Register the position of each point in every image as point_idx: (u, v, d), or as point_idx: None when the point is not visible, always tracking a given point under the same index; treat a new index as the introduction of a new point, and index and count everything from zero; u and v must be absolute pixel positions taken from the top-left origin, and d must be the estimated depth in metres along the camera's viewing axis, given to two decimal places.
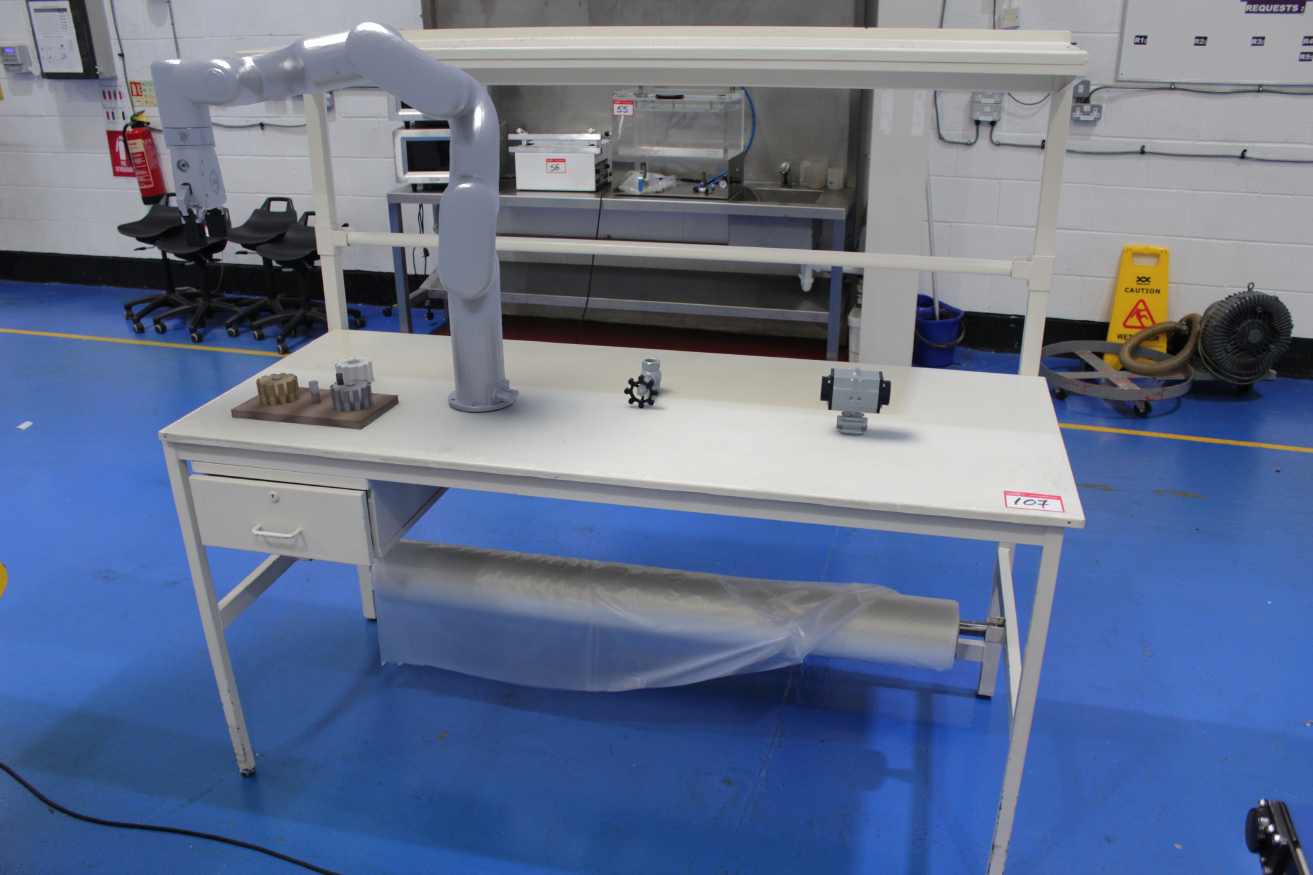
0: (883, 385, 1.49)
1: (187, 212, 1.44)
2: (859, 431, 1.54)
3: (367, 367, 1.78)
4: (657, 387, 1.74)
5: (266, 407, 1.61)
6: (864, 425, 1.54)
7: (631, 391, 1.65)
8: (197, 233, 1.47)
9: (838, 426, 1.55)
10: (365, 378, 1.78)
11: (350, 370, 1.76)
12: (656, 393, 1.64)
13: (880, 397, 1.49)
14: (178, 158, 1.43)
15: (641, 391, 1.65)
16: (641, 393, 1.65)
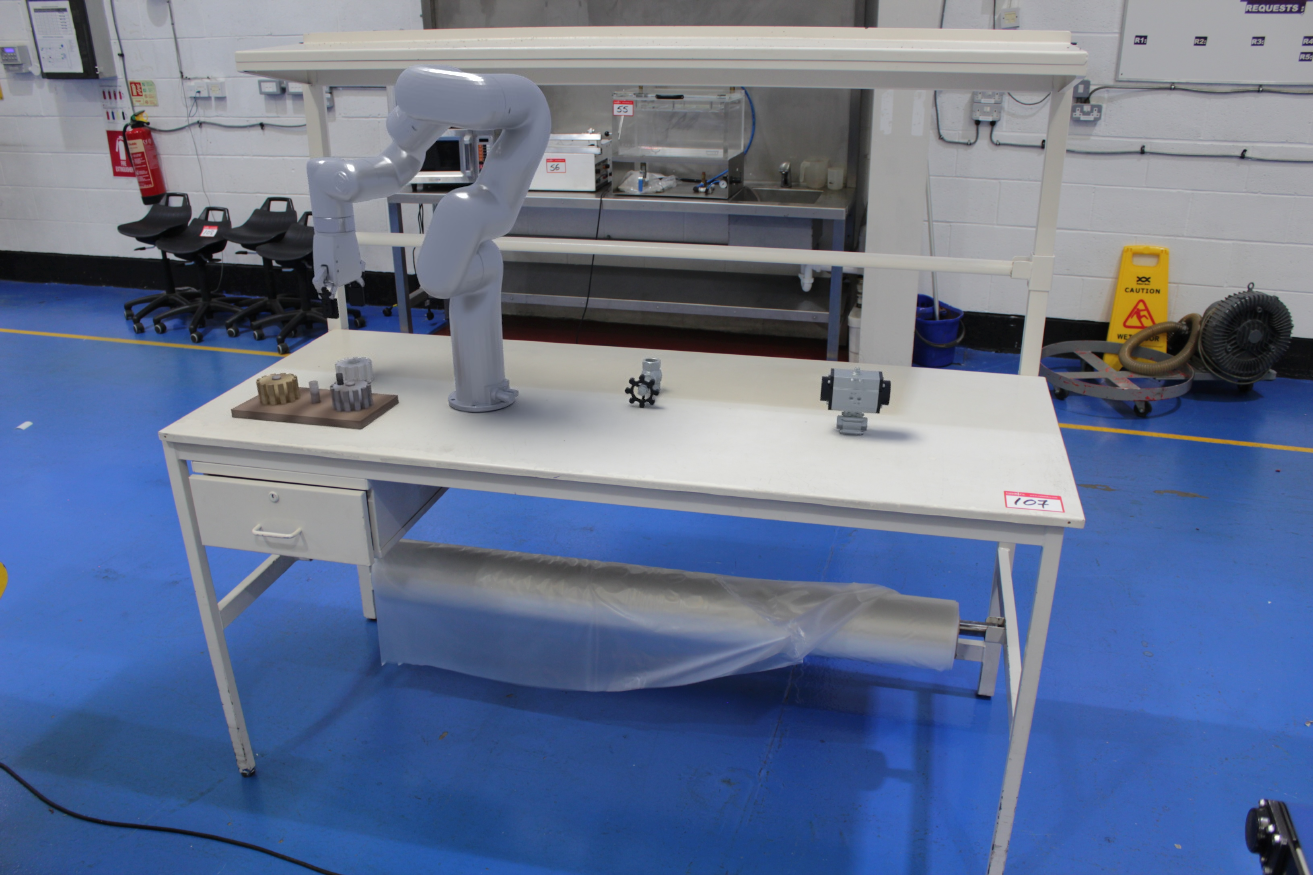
0: (883, 385, 1.49)
1: None
2: (859, 431, 1.54)
3: (367, 367, 1.78)
4: (657, 387, 1.74)
5: (266, 407, 1.61)
6: (864, 425, 1.54)
7: (632, 391, 1.66)
8: None
9: (838, 426, 1.55)
10: (365, 378, 1.78)
11: (350, 370, 1.76)
12: (657, 393, 1.65)
13: (880, 397, 1.49)
14: None
15: (642, 391, 1.65)
16: (642, 393, 1.65)
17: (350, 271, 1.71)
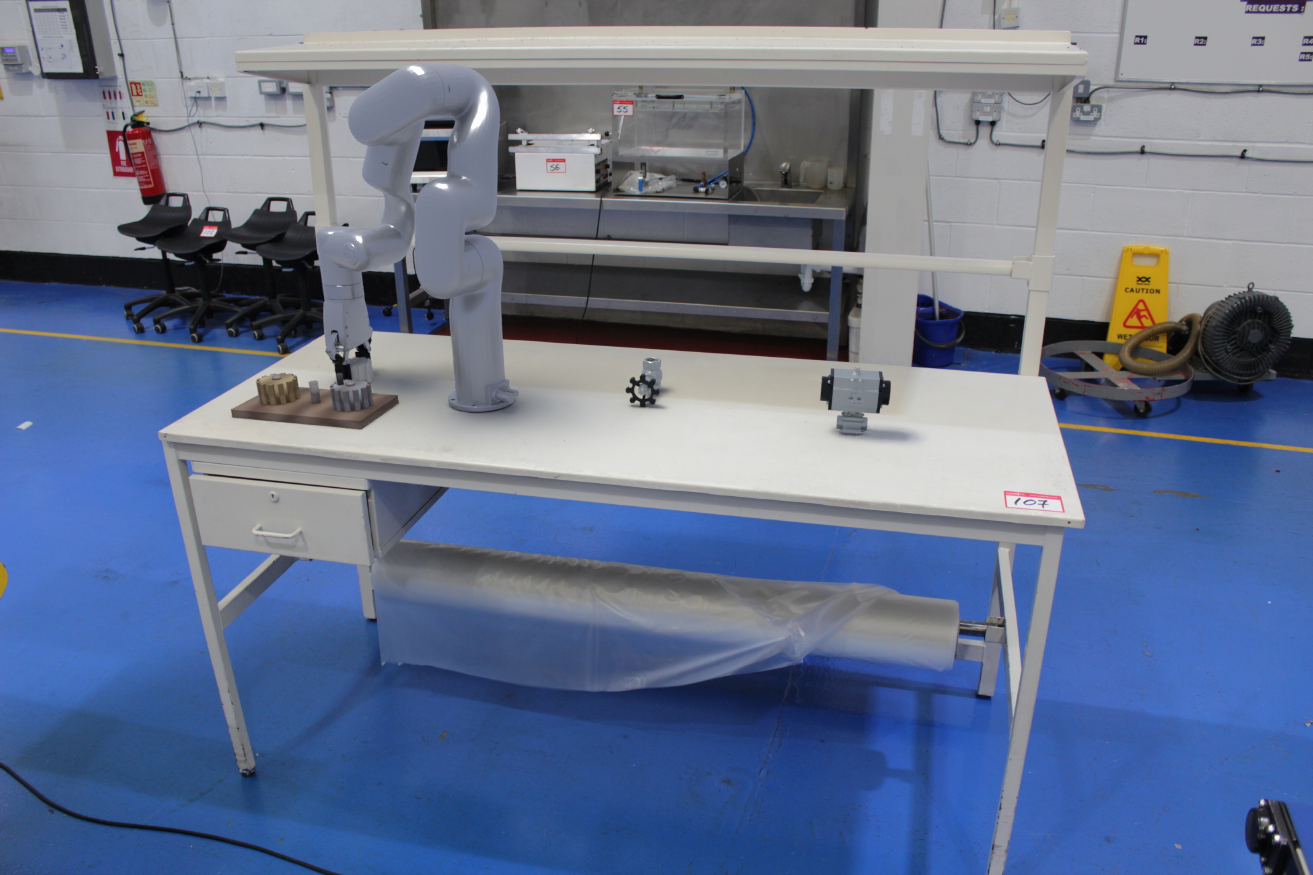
0: (883, 385, 1.49)
1: None
2: (859, 431, 1.54)
3: (367, 367, 1.78)
4: (658, 386, 1.74)
5: (266, 407, 1.61)
6: (864, 425, 1.54)
7: (632, 390, 1.66)
8: None
9: (838, 426, 1.55)
10: (365, 378, 1.78)
11: None
12: (657, 392, 1.65)
13: (880, 397, 1.49)
14: None
15: (642, 390, 1.65)
16: (642, 392, 1.66)
17: (360, 334, 1.76)
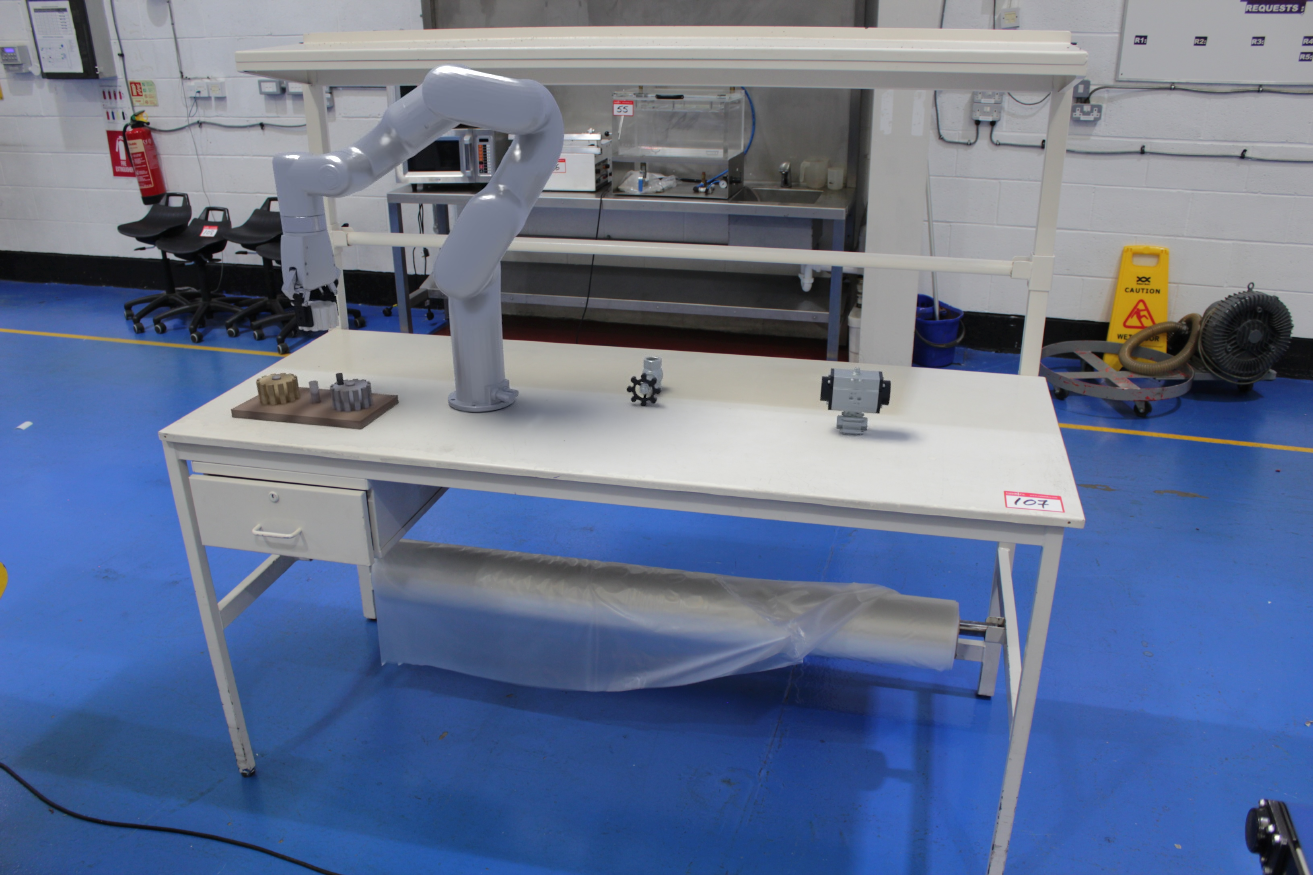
0: (883, 385, 1.49)
1: None
2: (859, 431, 1.54)
3: (330, 310, 1.61)
4: (659, 385, 1.75)
5: (266, 407, 1.61)
6: (864, 425, 1.54)
7: (634, 389, 1.66)
8: None
9: (838, 426, 1.55)
10: (328, 323, 1.62)
11: None
12: (659, 391, 1.66)
13: (880, 397, 1.49)
14: None
15: (644, 389, 1.66)
16: (644, 391, 1.66)
17: (322, 274, 1.60)
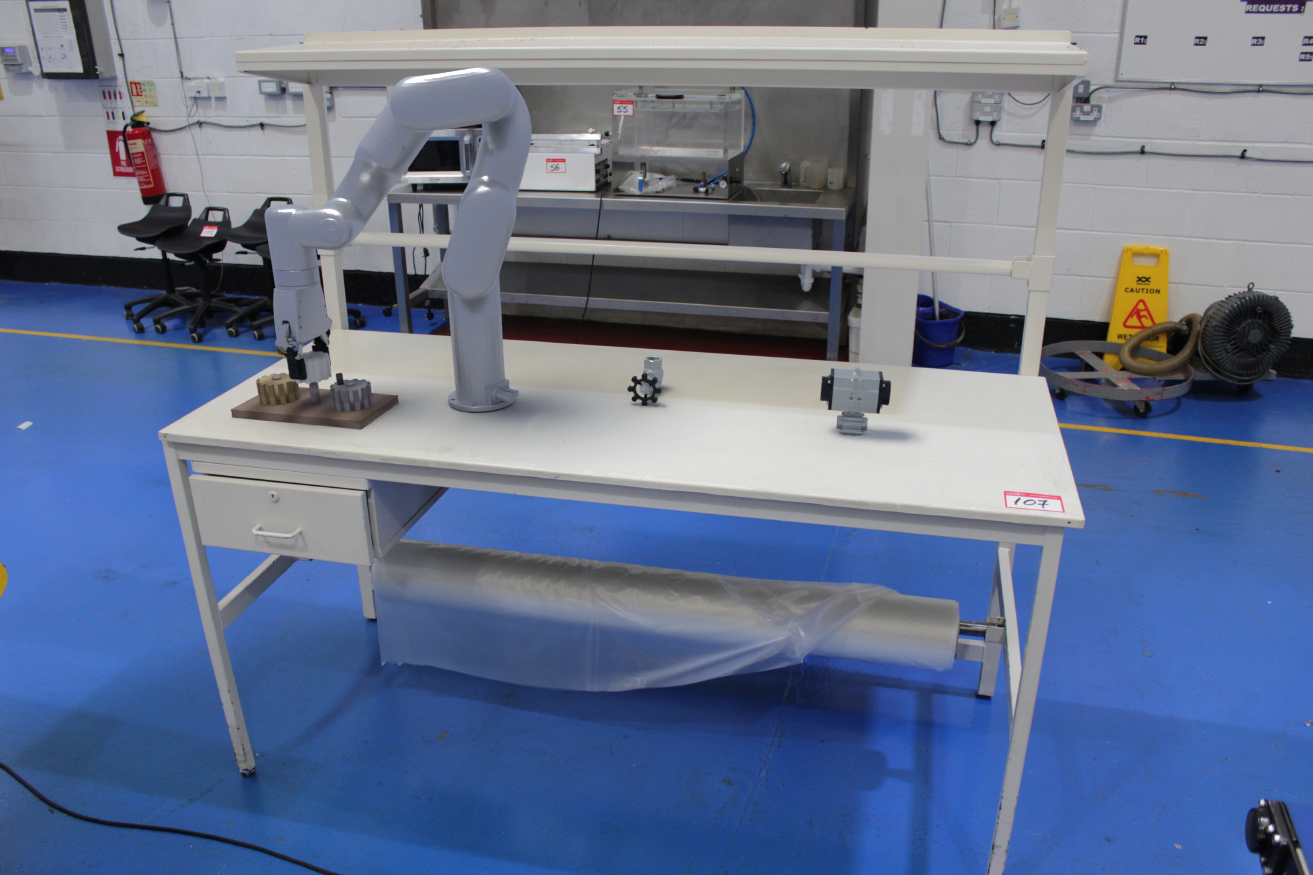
0: (883, 385, 1.49)
1: None
2: (859, 431, 1.54)
3: (323, 362, 1.60)
4: (659, 385, 1.75)
5: (266, 407, 1.61)
6: (864, 425, 1.54)
7: (634, 389, 1.67)
8: None
9: (838, 426, 1.55)
10: (321, 374, 1.60)
11: None
12: (659, 391, 1.66)
13: (880, 397, 1.49)
14: None
15: (644, 389, 1.66)
16: (644, 391, 1.66)
17: (315, 326, 1.58)
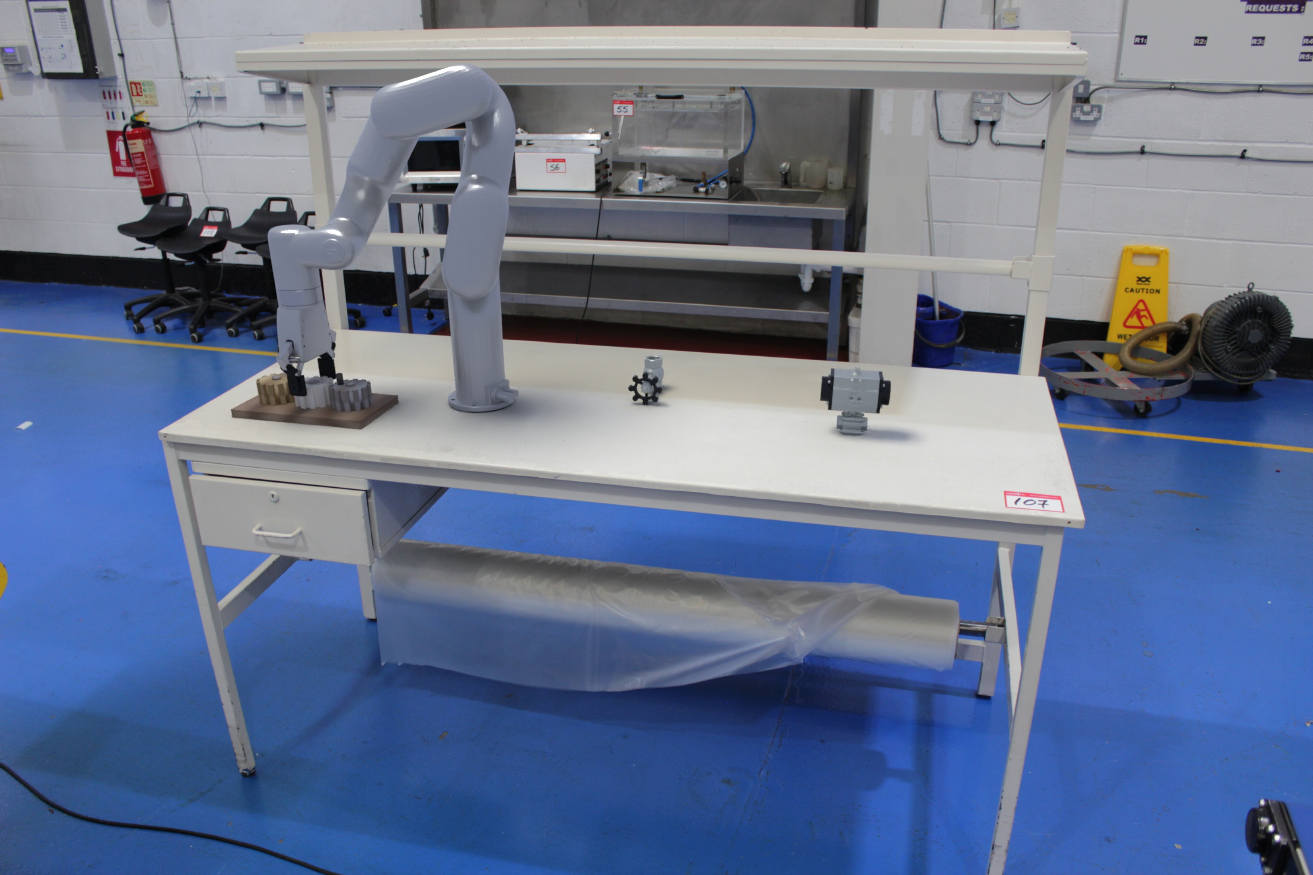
0: (883, 385, 1.49)
1: None
2: (859, 431, 1.54)
3: (328, 388, 1.61)
4: (660, 384, 1.75)
5: (266, 407, 1.61)
6: (864, 425, 1.54)
7: (635, 388, 1.67)
8: None
9: (838, 426, 1.55)
10: (326, 400, 1.62)
11: (309, 391, 1.60)
12: (660, 390, 1.66)
13: (880, 397, 1.49)
14: None
15: (645, 388, 1.67)
16: (645, 390, 1.67)
17: (319, 344, 1.59)
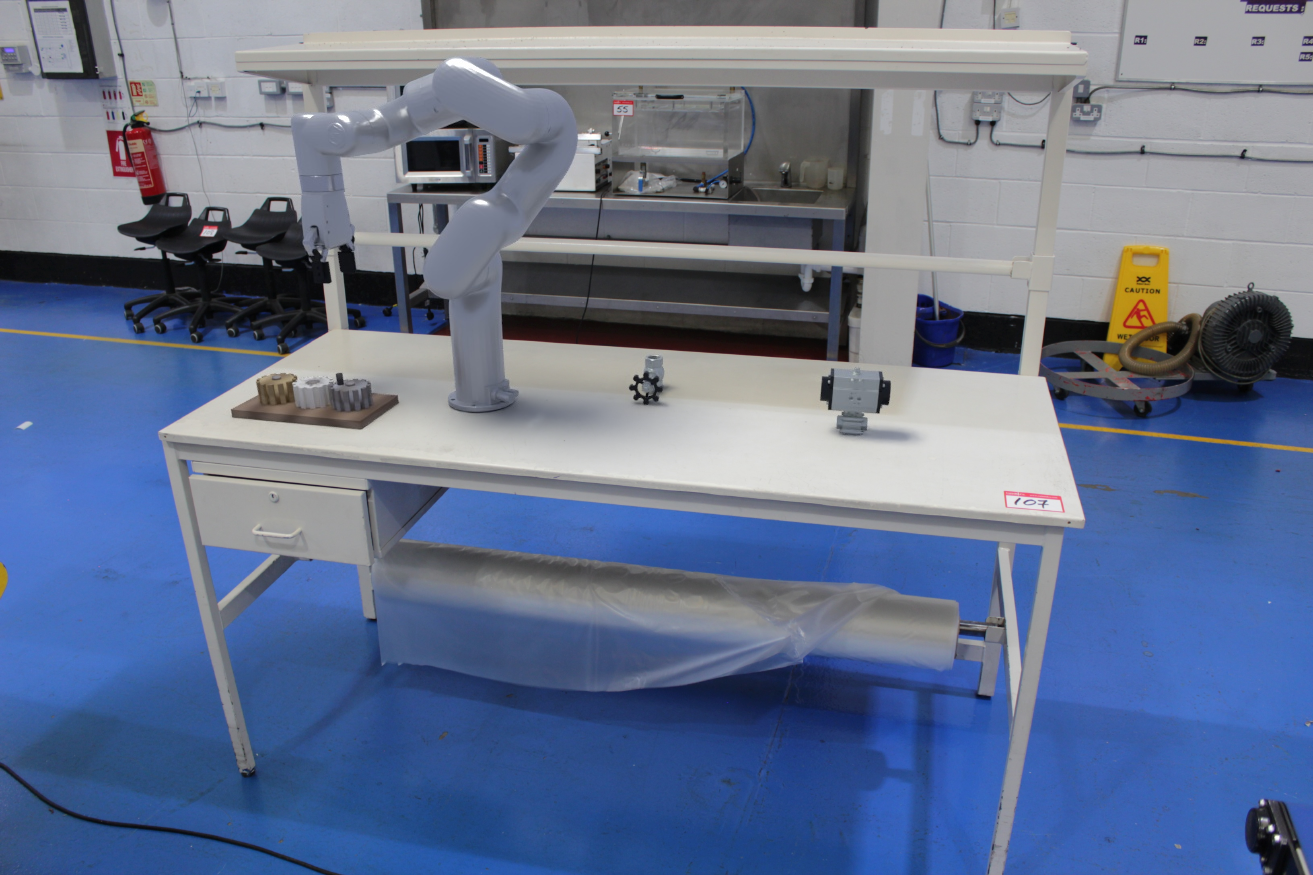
0: (883, 385, 1.49)
1: None
2: (859, 431, 1.54)
3: (328, 388, 1.61)
4: (660, 383, 1.76)
5: (266, 407, 1.61)
6: (864, 425, 1.54)
7: (636, 388, 1.67)
8: None
9: (838, 426, 1.55)
10: (326, 400, 1.62)
11: (309, 391, 1.60)
12: (661, 389, 1.67)
13: (880, 397, 1.49)
14: None
15: (646, 387, 1.67)
16: (646, 389, 1.67)
17: (341, 233, 1.63)
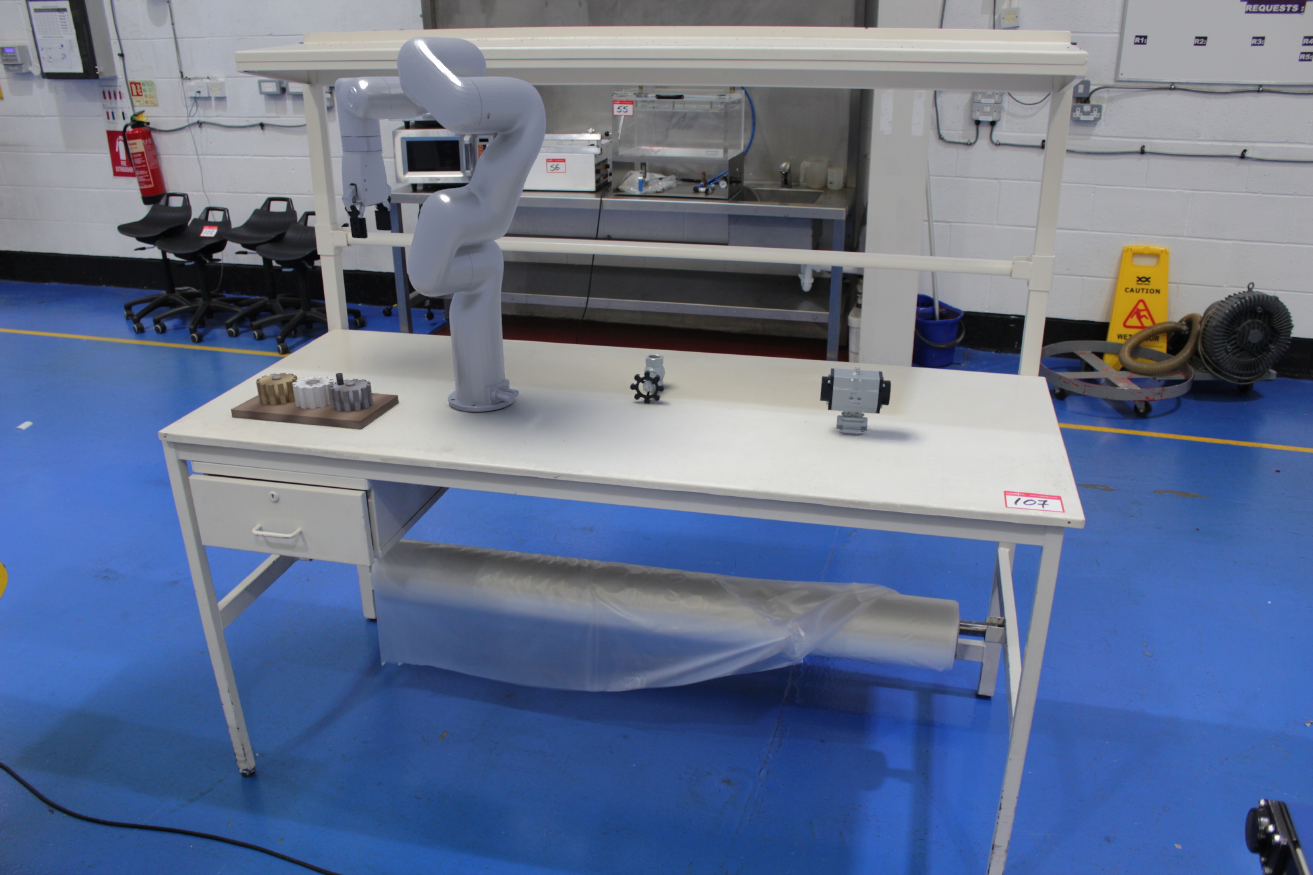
0: (883, 385, 1.49)
1: None
2: (859, 431, 1.54)
3: (328, 388, 1.61)
4: (661, 383, 1.76)
5: (266, 407, 1.61)
6: (864, 425, 1.54)
7: (637, 387, 1.68)
8: None
9: (838, 426, 1.55)
10: (326, 400, 1.62)
11: (309, 391, 1.60)
12: (662, 388, 1.67)
13: (880, 397, 1.49)
14: None
15: (647, 387, 1.67)
16: (647, 389, 1.67)
17: (378, 192, 1.75)
